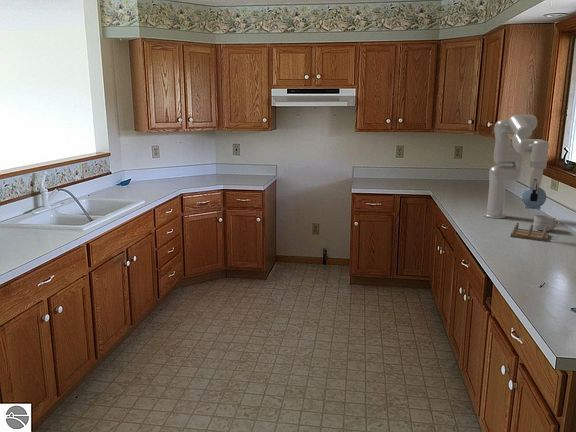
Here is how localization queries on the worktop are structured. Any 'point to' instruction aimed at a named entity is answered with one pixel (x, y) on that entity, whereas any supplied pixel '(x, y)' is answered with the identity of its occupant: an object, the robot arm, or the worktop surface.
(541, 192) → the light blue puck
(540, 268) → the worktop surface
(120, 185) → the worktop surface
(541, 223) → the teacup
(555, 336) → the worktop surface
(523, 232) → the dish rack
